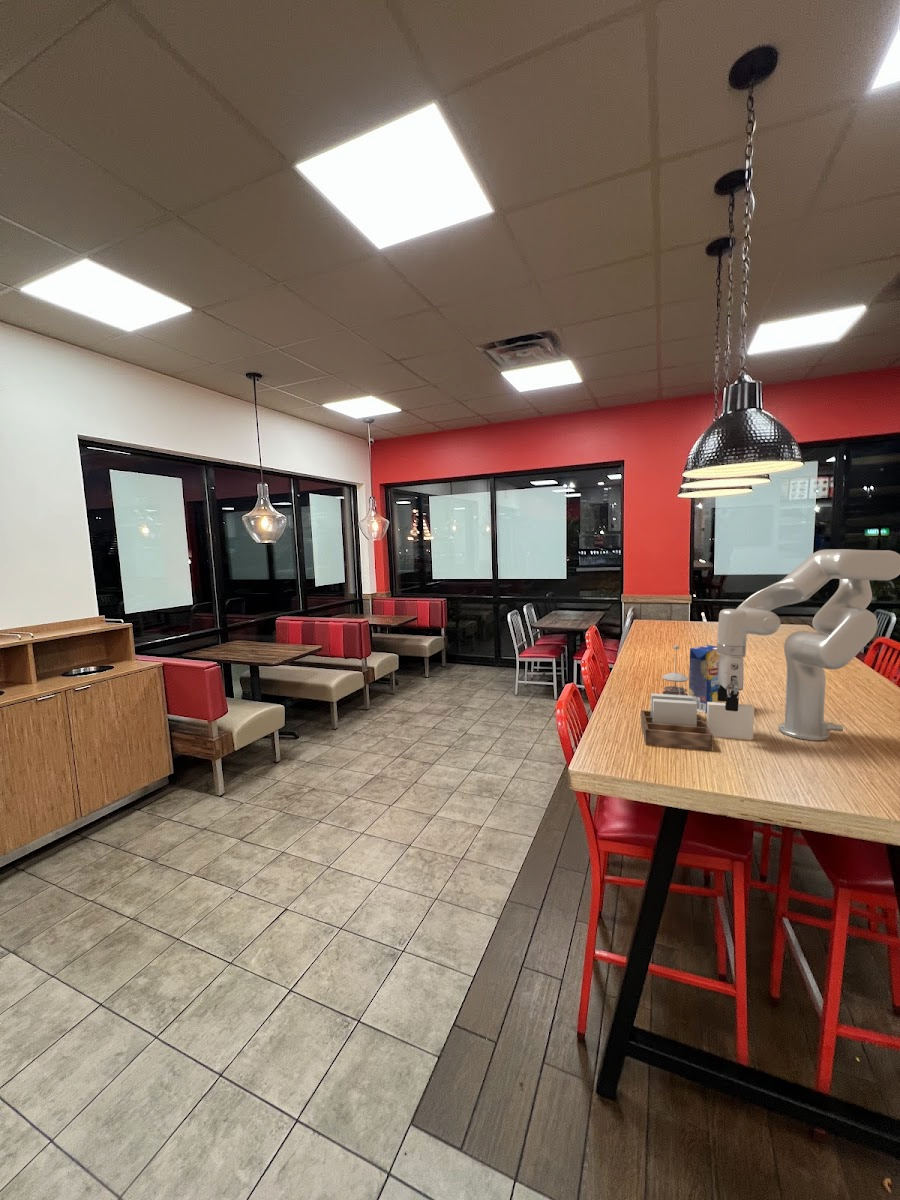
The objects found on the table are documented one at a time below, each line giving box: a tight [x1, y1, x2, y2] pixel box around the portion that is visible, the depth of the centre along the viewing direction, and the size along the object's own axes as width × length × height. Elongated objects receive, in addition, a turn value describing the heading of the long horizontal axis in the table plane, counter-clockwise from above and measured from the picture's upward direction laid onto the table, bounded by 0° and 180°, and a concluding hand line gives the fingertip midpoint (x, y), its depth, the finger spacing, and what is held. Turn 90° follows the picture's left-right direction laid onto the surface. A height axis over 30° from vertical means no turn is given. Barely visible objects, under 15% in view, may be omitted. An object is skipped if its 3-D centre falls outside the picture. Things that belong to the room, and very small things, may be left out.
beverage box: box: [688, 644, 726, 715], centre depth 170 cm, size 7×11×22 cm, turn 120°
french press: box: [661, 644, 689, 696], centre depth 161 cm, size 10×12×25 cm
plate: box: [705, 702, 755, 741], centre depth 145 cm, size 12×3×10 cm, turn 72°
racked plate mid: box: [652, 699, 698, 726], centre depth 145 cm, size 12×3×10 cm, turn 72°
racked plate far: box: [650, 693, 694, 717], centre depth 151 cm, size 12×3×10 cm, turn 72°
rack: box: [640, 710, 714, 752], centre depth 146 cm, size 18×18×4 cm
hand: (727, 705), depth 144 cm, fingers open, 9 cm apart
